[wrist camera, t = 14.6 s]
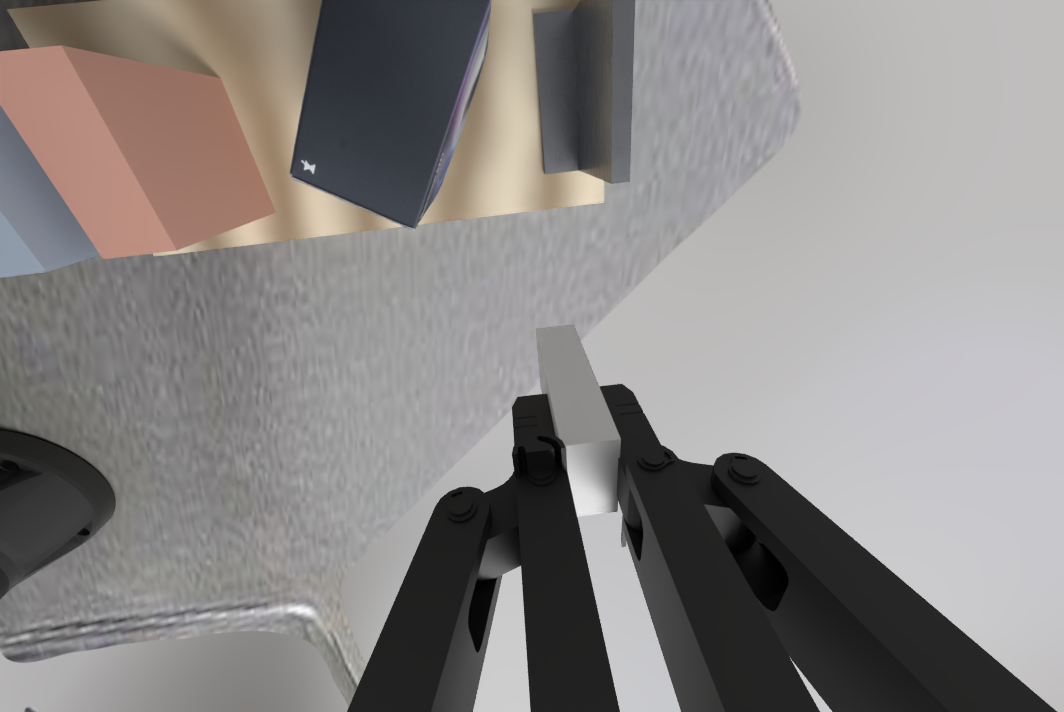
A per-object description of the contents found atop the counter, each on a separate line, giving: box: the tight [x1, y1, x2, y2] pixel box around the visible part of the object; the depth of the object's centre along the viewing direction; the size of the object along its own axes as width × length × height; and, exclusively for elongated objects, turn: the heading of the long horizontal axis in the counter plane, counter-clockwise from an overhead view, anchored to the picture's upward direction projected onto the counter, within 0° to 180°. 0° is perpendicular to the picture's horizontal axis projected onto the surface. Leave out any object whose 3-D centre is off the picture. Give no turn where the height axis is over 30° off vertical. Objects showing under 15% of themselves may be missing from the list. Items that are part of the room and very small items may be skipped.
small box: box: [290, 0, 492, 230], centre depth 21 cm, size 11×6×10 cm, turn 154°
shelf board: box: [7, 0, 604, 256], centre depth 26 cm, size 34×14×1 cm, turn 96°
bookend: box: [533, 0, 635, 184], centre depth 23 cm, size 4×9×9 cm, turn 6°
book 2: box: [0, 45, 276, 259], centre depth 21 cm, size 4×8×10 cm, turn 5°
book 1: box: [0, 105, 100, 278], centre depth 21 cm, size 4×8×12 cm, turn 6°
